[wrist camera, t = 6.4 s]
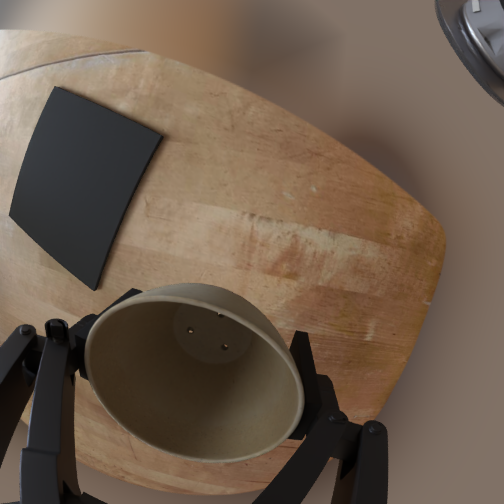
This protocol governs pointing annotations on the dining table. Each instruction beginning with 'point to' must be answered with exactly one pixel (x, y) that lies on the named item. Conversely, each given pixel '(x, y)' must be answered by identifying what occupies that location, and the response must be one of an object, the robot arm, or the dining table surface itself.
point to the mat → (80, 181)
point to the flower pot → (195, 373)
